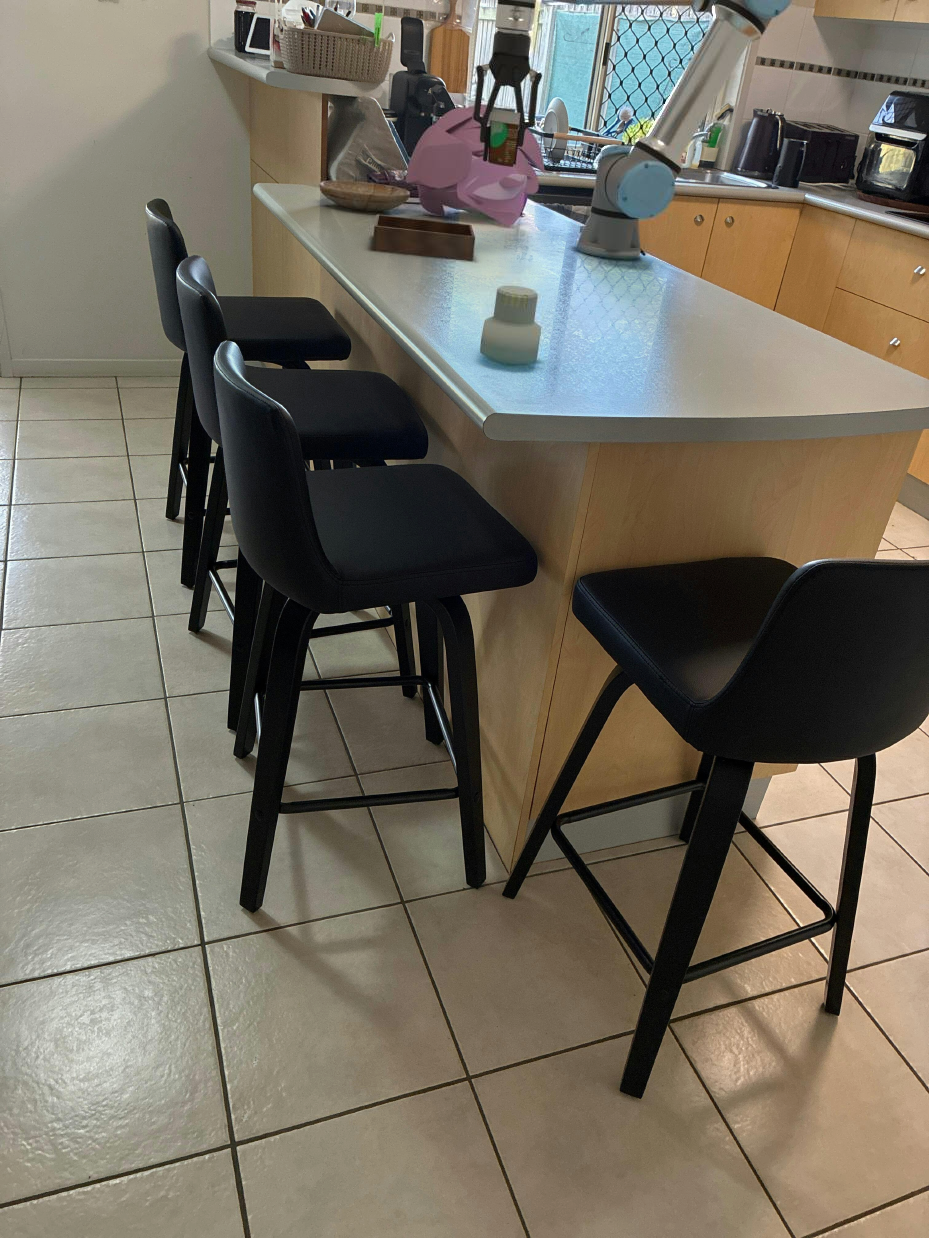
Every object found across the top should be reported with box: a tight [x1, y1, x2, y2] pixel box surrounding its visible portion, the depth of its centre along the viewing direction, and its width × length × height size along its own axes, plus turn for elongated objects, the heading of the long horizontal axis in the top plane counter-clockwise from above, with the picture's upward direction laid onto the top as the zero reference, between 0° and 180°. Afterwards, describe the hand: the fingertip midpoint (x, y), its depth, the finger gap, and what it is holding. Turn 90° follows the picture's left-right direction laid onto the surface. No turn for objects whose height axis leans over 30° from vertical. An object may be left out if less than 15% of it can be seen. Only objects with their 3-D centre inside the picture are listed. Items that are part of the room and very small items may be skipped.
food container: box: [488, 107, 520, 167], centre depth 191 cm, size 12×6×10 cm, turn 3°
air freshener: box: [479, 285, 542, 366], centre depth 132 cm, size 11×8×10 cm
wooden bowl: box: [318, 179, 410, 212], centre depth 237 cm, size 23×24×5 cm
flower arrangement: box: [405, 103, 546, 228], centre depth 238 cm, size 35×24×28 cm
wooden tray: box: [372, 213, 476, 262], centre depth 198 cm, size 21×15×5 cm
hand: (499, 162), depth 193 cm, fingers closed on food container, 5 cm apart
